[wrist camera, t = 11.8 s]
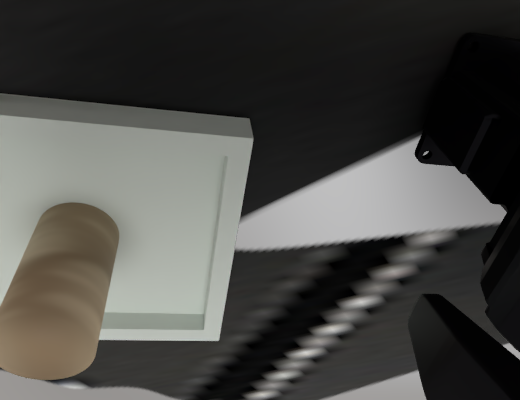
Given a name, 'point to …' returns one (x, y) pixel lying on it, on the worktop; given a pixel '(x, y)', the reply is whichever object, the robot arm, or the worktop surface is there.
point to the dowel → (59, 294)
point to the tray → (132, 203)
